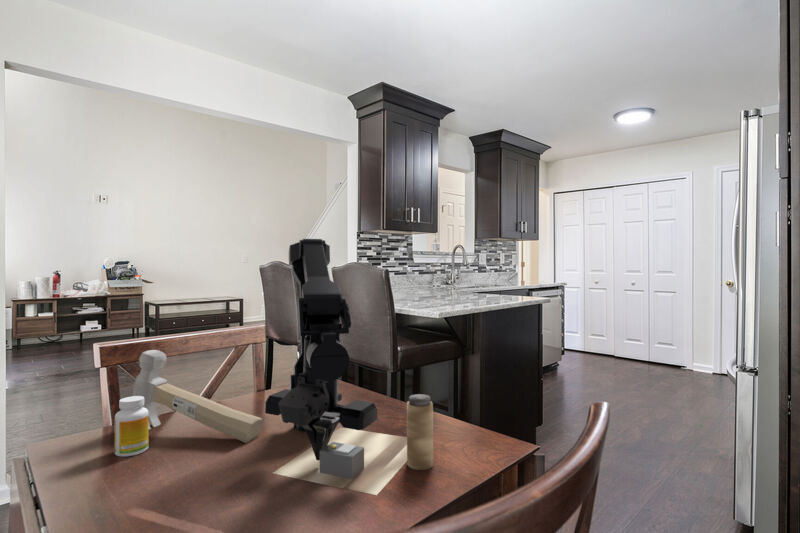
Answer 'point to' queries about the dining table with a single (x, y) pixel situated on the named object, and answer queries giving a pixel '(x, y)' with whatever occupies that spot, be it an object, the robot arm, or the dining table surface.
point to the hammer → (189, 402)
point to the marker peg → (419, 432)
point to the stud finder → (342, 460)
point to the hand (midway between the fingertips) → (319, 459)
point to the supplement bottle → (131, 427)
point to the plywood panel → (379, 461)
